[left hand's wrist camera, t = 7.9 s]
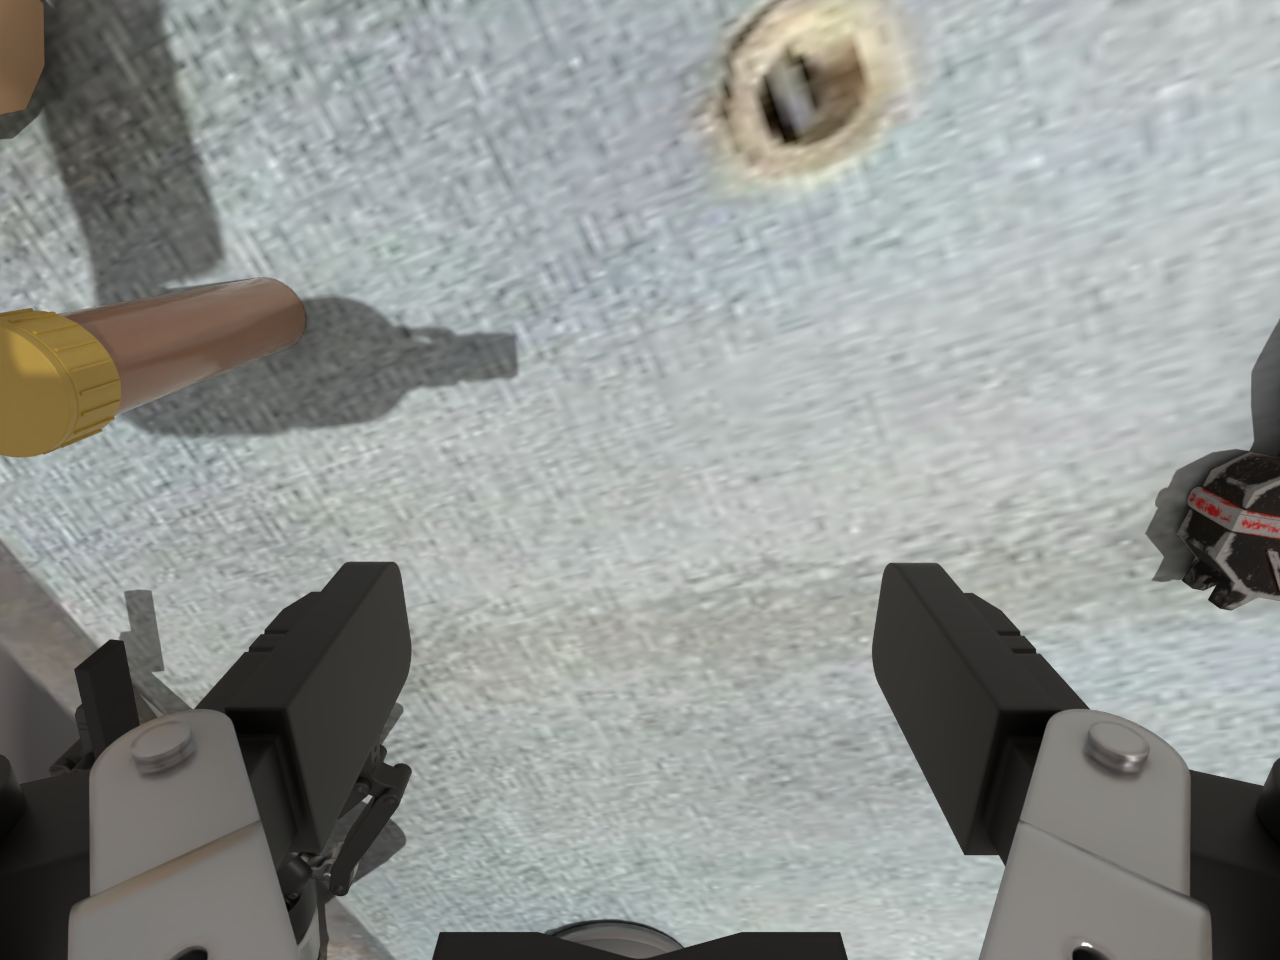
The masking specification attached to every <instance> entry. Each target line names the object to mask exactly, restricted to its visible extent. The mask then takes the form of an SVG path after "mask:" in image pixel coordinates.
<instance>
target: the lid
mask: <svg viewBox="0 0 1280 960" xmlns="http://www.w3.org/2000/svg"><path fill="white" fill-rule="evenodd" d="M120 403H121V382H120V378H119V375H118V371H117V369H116V366H115V364H114V362H113V360H112V358H111V357H110V355H109V353H108V352H107V351H106V349H105V348H104V346H103V345H102V344H101V343H100V342H99V341H98V340H97V339H96V338H95V337H94V336H93V335H92V334H91V333H90V332H89V331H87V330H86V329H85V328H83V327H82V326H80V325H79V324H78V323H77V322H74V321H72V320H70V319H68V318H65V317H63V316H60V315H57V314H56V313H55V312H46V311H37V310H34V311H33V309H32V308H28V309H22V310H16V311H10V312H4V313H0V455H4V456H9V457H31V456H37V455H40V454H47V453H49V452H51V451H54V450H56V449H59V448H61V447H62V448H63V447H66V446H68V445H70V444H73V443H75V442H78V441H80V440H82V439H85V438H87V437H90V436H92V435H95V434H97V433H99V432H101V431H102V430H101V429H102V428H103V427H105V426H106V425H107V424H108V423H109V422H110V421H112V420H114V419H115V418H114V416H115V414H116V412H117V410H118V408H119V404H120Z"/></svg>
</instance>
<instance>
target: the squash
mask: <svg viewBox="0 0 1280 960" xmlns="http://www.w3.org/2000/svg"><path fill="white" fill-rule="evenodd" d="M44 66H45V63H44V4H43V3H42V2H41V1H40V0H0V115H2V114H7V113H11V112H16V111H20V110H25V109H26V108H27V105H28V103H29V101H30V98H31V96H32V94H33V91H34V89H35V87H36V84H37V82H38V80H39V77H40V75H41V73H42V70H43V68H44Z"/></svg>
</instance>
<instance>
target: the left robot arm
mask: <svg viewBox="0 0 1280 960" xmlns="http://www.w3.org/2000/svg"><path fill="white" fill-rule="evenodd" d="M872 659H873V667H874V672H875V676H876V679H877V682H878V684H879V686H880V688H881V690H882V692H883V694H884V696H885V698H886V700H887V702H888V704H889V706H890V708H891V710H892V712H893V714H894V716H895V718H896V720H897V722H898V724H899V726H900V728H901V730H902V732H903V734H904V736H905V738H906V740H907V742H908V744H909V746H910V748H911V750H912V752H913V754H914V756H915V758H916V760H917V761H918V763H919V765H920V767H921V769H922V771H923V773H924V775H925V777H926V779H927V781H928V783H929V785H930V787H931V789H932V791H933V793H934V795H935V797H936V799H937V801H938V803H939V805H940V807H941V809H942V811H943V813H944V815H945V817H946V819H947V821H948V823H949V825H950V827H951V829H952V831H953V833H954V835H955V837H956V839H957V841H958V843H959V845H960V847H961V849H962V851H963V853H964V855H999V856H1000V858H1001V860H1002V861H1003V863H1004V865H1005V870H1004V874H1003V877H1002V881H1001V884H1000V888H999V891H998V894H997V898H996V901H995V905H994V908H993V912H992V915H991V919H990V922H989V926H988V929H987V933H986V936H985V940H984V943H983V946H982V950H981V953H980V957H979V960H1280V758H1279V759H1278V760H1277V761H1276V762H1275V763H1274V764H1273V766H1272V769H1271V771H1270V773H1269V775H1268V778H1267V780H1266V782H1265V784H1264V786H1261V785H1257V784H1252V783H1247V782H1243V781H1238V780H1234V779H1229V778H1225V777H1220V776H1216V775H1211V774H1206V773H1202V772H1197V771H1193V770H1189V769H1188V767H1187V764H1186V763H1185V761H1184V760H1183V758H1182V757H1181V756H1180V755H1179V754H1178V752H1177V751H1176V750H1175V749H1174V748H1173V747H1172V746H1170V745H1169V744H1168V743H1167V742H1166V741H1165V740H1163V739H1162V738H1160V737H1159V736H1157V735H1156V734H1155V733H1153V732H1151V731H1149V730H1148V729H1146V728H1144V727H1142V726H1140V725H1138V724H1136V723H1134V722H1132V721H1130V720H1127V719H1125V718H1122V717H1119V716H1116V715H1113V714H1110V713H1106V712H1101V711H1096V710H1090V709H1089V708H1088V706H1087V705H1086V704H1085V703H1084V702H1083V701H1082V700H1081V699H1080V698H1079V696H1078V695H1077V694H1076V693H1075V692H1074V691H1073V690H1072V689H1071V688H1070V686H1069V685H1068V684H1067V683H1066V682H1065V681H1064V680H1063V679H1062V678H1061V676H1060V675H1059V674H1058V673H1057V672H1056V671H1055V670H1054V669H1053V668H1052V666H1051V665H1050V664H1049V663H1048V662H1047V661H1046V660H1045V659H1044V658H1043V656H1042V655H1041V654H1037V653H1036V649H1035V648H1034V646H1033V645H1032V644H1031V643H1030V642H1029V641H1028V640H1027V639H1026V638H1025V636H1021V635H1020V631H1019V630H1018V629H1017V628H1016V626H1015V625H1014V624H1013V623H1012V622H1011V621H1010V620H1009V619H1008V618H1007V616H1006V615H1005V614H1004V613H1003V612H1002V611H1001V610H999V609H998V608H996V607H994V606H993V605H991V604H990V603H988V602H986V601H985V600H983V599H981V598H980V597H978V596H977V595H975V594H973V593H963V592H962V591H961V589H960V588H959V587H958V586H957V585H956V583H955V582H954V581H953V580H952V579H951V577H950V576H949V575H948V574H947V573H946V572H945V570H944V569H943V568H942V567H941V566H940V565H939V564H937V563H889V564H888V565H887V566H886V568H885V570H884V573H883V577H882V584H881V590H880V597H879V603H878V610H877V617H876V623H875V630H874V636H873V644H872ZM410 662H411V638H410V632H409V625H408V618H407V612H406V605H405V598H404V592H403V585H402V578H401V573H400V570H399V567H398V565H397V564H396V563H395V562H347V563H345V564H344V565H343V566H342V567H341V568H340V569H339V571H338V572H337V573H336V574H335V575H334V577H333V578H332V579H331V580H330V581H329V583H328V584H327V585H326V586H325V587H324V588H323V590H322V591H321V592H310V593H309V594H307V595H306V596H304V597H302V598H301V599H299V600H298V601H296V602H294V603H293V604H291V605H289V606H288V607H286V608H285V609H283V610H282V611H281V612H280V613H279V614H278V616H277V617H276V618H275V619H274V620H273V621H272V622H271V623H270V625H269V626H268V627H267V628H266V629H265V633H264V634H261V635H260V636H259V637H258V638H257V639H256V640H255V641H254V643H253V644H252V645H251V646H250V647H249V652H245V653H244V654H243V655H242V656H241V657H240V658H239V659H238V660H237V662H236V663H235V664H234V665H233V666H232V667H231V668H230V669H229V671H228V672H227V673H226V674H225V675H224V676H223V677H222V678H221V680H220V681H219V682H218V683H217V684H216V685H215V686H214V687H213V689H212V690H211V691H210V692H209V693H208V694H207V695H206V696H205V697H204V699H203V700H202V701H201V702H200V703H199V704H198V705H197V706H196V708H195V709H191V710H184V711H179V712H174V713H170V714H167V715H164V716H161V717H158V718H155V719H153V720H150V721H148V722H146V723H144V724H142V725H140V726H138V727H136V728H134V729H132V730H131V731H129V732H127V733H125V734H124V735H123V736H121V737H120V738H118V739H117V740H115V741H114V742H113V743H112V744H111V745H110V746H108V747H107V748H106V749H105V750H104V751H103V752H102V754H101V755H100V756H99V757H98V758H97V760H96V761H95V763H94V764H93V767H92V768H91V769H87V770H82V771H78V772H73V773H69V774H64V775H60V776H55V777H51V778H46V779H41V780H37V781H32V782H28V783H23V784H19V782H18V780H17V778H16V776H15V774H14V771H13V769H12V767H11V764H10V762H9V760H8V759H7V758H6V757H5V756H3V755H0V960H301V957H300V953H299V950H298V946H297V943H296V940H295V936H294V933H293V929H292V926H291V922H290V919H289V915H288V912H287V908H286V905H285V901H284V898H283V894H282V891H281V888H280V884H279V881H278V877H277V874H276V871H277V869H278V867H279V865H280V864H281V862H282V860H283V858H284V856H285V855H286V853H321V851H322V849H323V847H324V845H325V843H326V841H327V839H328V837H329V835H330V833H331V831H332V829H333V827H334V825H335V823H336V821H337V819H338V817H339V815H340V813H341V811H342V809H343V807H344V805H345V803H346V801H347V799H348V796H349V794H350V792H351V790H352V788H353V786H354V784H355V782H356V780H357V778H358V776H359V774H360V772H361V770H362V768H363V766H364V764H365V762H366V760H367V758H368V756H369V754H370V752H371V750H372V748H373V746H374V744H375V742H376V740H377V738H378V736H379V734H380V732H381V730H382V728H383V726H384V724H385V722H386V720H387V718H388V716H389V714H390V712H391V710H392V708H393V706H394V704H395V702H396V700H397V698H398V696H399V694H400V692H401V690H402V688H403V686H404V684H405V681H406V679H407V676H408V673H409V668H410ZM432 960H848V959H847V955H846V951H845V948H844V944H843V941H842V937H841V933H840V932H741V933H737V934H733V935H730V936H726V937H722V938H719V939H715V940H712V941H708V942H704V943H701V944H697V945H693V946H690V947H686V948H683V949H679V950H675V951H672V952H668V953H664V954H661V955H657V956H654V957H649V958H644V959H636V958H631V957H626V956H623V955H619V954H616V953H612V952H608V951H605V950H601V949H597V948H594V947H590V946H587V945H583V944H579V943H576V942H572V941H568V940H565V939H561V938H558V937H554V936H550V935H547V934H543V933H539V932H440V933H439V937H438V941H437V944H436V948H435V951H434V955H433V959H432Z"/></svg>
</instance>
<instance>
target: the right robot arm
mask: <svg viewBox="0 0 1280 960" xmlns="http://www.w3.org/2000/svg"><path fill="white" fill-rule="evenodd" d="M74 670H75V675H76V679H77V683H78V688H79V692H80V696H81V701H82V704H81V705H80V706H79V707H78V708H77V710H76V713H75V718H76V722H77V726H78V728H79V729H78V730H79V734H80V739H79V740H78V741H77V742H75V743H74V744H73V745H72V746H71V747H70V748H69V749H68V750H67V751H66V752H65V753H64V754H63V755H62V756H61V757H60V758H59V759H58V760H57V761H56V762H55V763H54V764H53V765H52V766H51V767H50V768H49V772H50V774H51V775H52V777H55V776H60V775H64V774H69V773H73V772H78V771H82V770H87V769H91V768H92V767H93V764H94V763H95V761H96V760H97V758H98V757H99V756H100V755H101V754H102V752H103V751H104V750H105V749H106V748H107V747H108V746H110V745H111V744H112V743H113V742H114V741H115V740H117V739H118V738H120V737H121V736H123V735H124V734H125V733H127V732H129V731H131V730H132V729H134V728H136V727H138V726H140V724H139V719H138V714H137V709H136V704H135V698H134V693H133V688H132V683H131V678H130V672H129V667H128V662H127V657H126V651H125V646H124V641H120V640H109V641H108V642H106V643H105V644H104V645H103V646H102V647H100V648H99V649H98V650H97V651H96V652H94V653H93V654H92V655H91V656H90V657H88V658H87V659H86V660H85V661H84V662H82V663H81V664H80V665H79V666H78V667H76V668H75V669H74ZM386 754H387V750H386V748H385V747H384V746H382V745H380V739H379V736H378V738H377V740H376V742H375V744H374V746H373V748H372V750H371V752H370V754H369V756H368V758H367V760H366V762H365V764H364V766H363V768H362V770H361V772H360V774H359V776H358V778H357V780H356V782H355V784H354V786H353V788H352V790H351V792H350V794H349V796H348V799H347V801H346V803H345V805H344V807H343V809H342V811H341V813H340V815H339V817H338V819H339V818H340V817H342V816H343V815H344V814H345V813H347V812H348V811H349V810H350V809H352V808H353V807H354V806H355V805H357V804H358V803H359V802H360V801H362V800H363V799H364V798H365V797H367V795H368V794H369V795H372V796H373V797H372V799H371V800H370V801H369V803H368V804H367V806H366V807H365V809H364V810H363V812H362V813H361V814H360V816H359V817H358V819H357V820H356V822H355V823H354V825H353V826H352V828H351V829H350V831H349V832H348V835H347V837H346V839H345V841H344V842H343V841H340V842H338V843H337V845H336V847H334V848H331V849H330V850H329V852H328V853H327V854H326V855H324V856H319V853H286V855H285V856H284V858H283V860H282V862H281V864H280V865H279V867H278V869H277V871H276V874H277V877H278V881H279V884H280V888H281V891H282V894H283V898H284V901H285V905H286V908H287V912H288V915H289V919H290V922H291V926H292V929H293V933H294V936H295V940H296V943H297V946H298V950H299V953H300V957H301V960H322V958H321V948H320V934H319V921H318V908H317V890H316V879H317V880H323V881H330V886H329V890H330V892H331V893H332V894H334V895H336V896H344V895H346V894H347V893H348V891H349V888H350V886H351V883H352V881H353V879H354V876H355V874H356V872H357V869H358V867H359V864H360V862H361V859H362V856H363V855H364V853H365V852H366V851H367V849H368V848H369V846H370V845H371V844H372V842H373V841H374V839H375V838H376V837H377V835H378V834H379V832H380V831H381V830H382V828H383V827H384V825H385V824H386V823H387V821H388V820H389V818H390V817H391V816H392V814H393V813H394V811H395V810H396V809H397V807H398V806H399V803H400V801H401V798H402V796H403V794H404V791H405V788H406V786H407V783H408V781H409V778H410V775H411V773H412V771H411V768H410V767H409V766H408V765H406V764H396V765H395V766H394V767H392V766H390V765H387V764H385V763H384V762H383V761H384V759H385V757H386ZM338 819H337V820H338ZM554 937H558V938H561V939H565V940H568V941H572V942H576V943H579V944H583V945H587V946H590V947H594V948H597V949H601V950H605V951H608V952H612V953H616V954H619V955H623V956H626V957H631V958H636V959H644V958H649V957H654V956H657V955H661V954H664V953H668V952H672V951H675V950H679V949H683V948H682V947H681V946H680V945H679V944H677V943H676V942H675V941H673V940H672V939H670V938H668V937H667V936H665V935H663V934H661V933H659V932H656V931H654V930H651V929H648V928H645V927H641V926H636V925H631V924H624V923H595V924H588V925H583V926H578V927H575V928H571V929H568V930H566V931H563V932H561V933H559V934H557V935H555V936H554Z"/></svg>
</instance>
